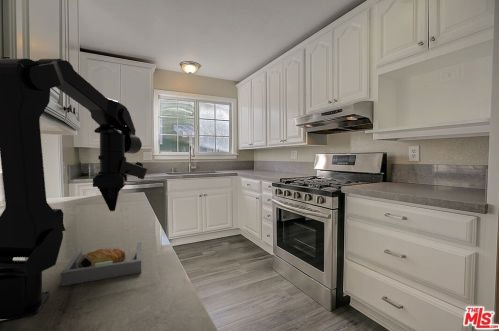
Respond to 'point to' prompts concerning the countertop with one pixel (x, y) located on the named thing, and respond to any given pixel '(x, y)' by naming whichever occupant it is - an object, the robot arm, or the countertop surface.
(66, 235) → the countertop surface
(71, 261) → the dock
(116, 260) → the pastry
